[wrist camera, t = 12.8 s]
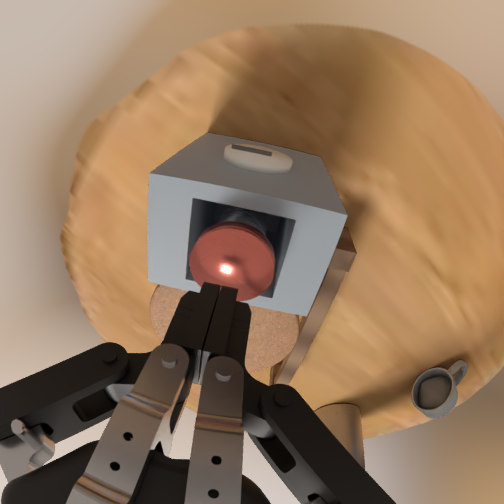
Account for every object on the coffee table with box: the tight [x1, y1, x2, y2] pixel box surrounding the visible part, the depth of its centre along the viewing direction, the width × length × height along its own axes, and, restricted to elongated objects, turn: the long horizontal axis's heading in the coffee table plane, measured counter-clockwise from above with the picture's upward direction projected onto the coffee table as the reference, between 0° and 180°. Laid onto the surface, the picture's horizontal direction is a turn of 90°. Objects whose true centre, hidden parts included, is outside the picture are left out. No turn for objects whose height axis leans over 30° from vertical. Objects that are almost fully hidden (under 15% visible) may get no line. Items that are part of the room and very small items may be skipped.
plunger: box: [189, 205, 275, 301], centre depth 17 cm, size 4×4×6 cm
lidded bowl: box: [150, 284, 299, 373], centre depth 26 cm, size 13×13×11 cm
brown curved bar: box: [269, 227, 357, 386], centre depth 32 cm, size 24×2×4 cm, turn 169°
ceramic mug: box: [411, 360, 468, 418], centre depth 36 cm, size 11×8×8 cm
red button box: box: [148, 133, 348, 316], centre depth 20 cm, size 8×10×12 cm
